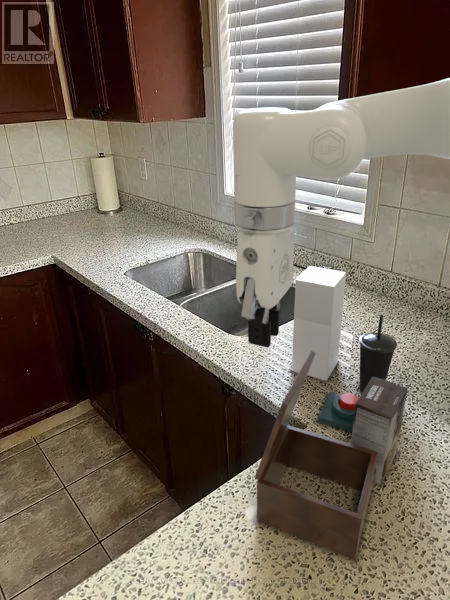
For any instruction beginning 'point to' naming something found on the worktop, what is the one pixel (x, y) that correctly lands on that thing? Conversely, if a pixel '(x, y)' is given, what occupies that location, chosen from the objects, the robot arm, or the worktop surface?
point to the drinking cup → (375, 355)
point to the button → (348, 401)
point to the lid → (284, 415)
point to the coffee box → (379, 422)
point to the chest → (310, 511)
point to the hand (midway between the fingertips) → (263, 338)
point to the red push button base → (336, 413)
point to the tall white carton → (318, 320)
